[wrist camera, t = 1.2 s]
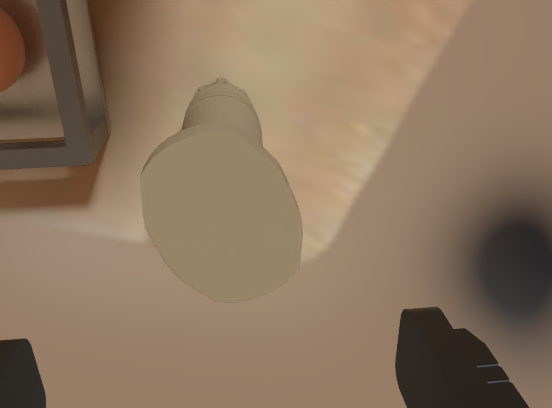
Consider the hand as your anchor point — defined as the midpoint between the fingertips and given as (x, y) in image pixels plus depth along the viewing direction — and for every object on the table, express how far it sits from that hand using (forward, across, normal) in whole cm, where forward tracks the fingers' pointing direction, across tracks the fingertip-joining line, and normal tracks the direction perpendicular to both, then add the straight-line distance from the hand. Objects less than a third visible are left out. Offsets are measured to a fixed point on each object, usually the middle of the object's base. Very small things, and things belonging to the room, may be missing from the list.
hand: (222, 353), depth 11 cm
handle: (+21, 0, 0) cm, 21 cm away
